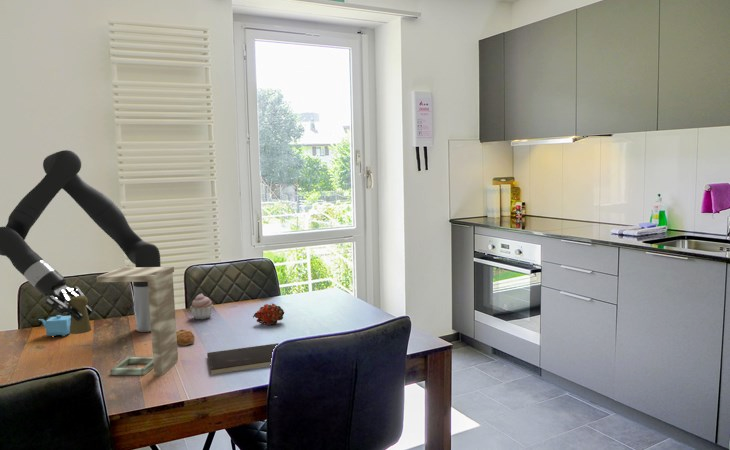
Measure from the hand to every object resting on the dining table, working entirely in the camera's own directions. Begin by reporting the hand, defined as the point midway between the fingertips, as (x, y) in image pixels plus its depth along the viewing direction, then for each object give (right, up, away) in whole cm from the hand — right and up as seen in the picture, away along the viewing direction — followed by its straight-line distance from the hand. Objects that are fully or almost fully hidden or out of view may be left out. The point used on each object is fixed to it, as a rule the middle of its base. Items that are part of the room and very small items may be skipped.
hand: (85, 316), depth 168 cm
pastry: (+23, -13, +24) cm, 36 cm away
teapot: (-28, -13, +35) cm, 47 cm away
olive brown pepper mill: (-2, -5, +1) cm, 5 cm away
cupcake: (+20, -10, +54) cm, 58 cm away
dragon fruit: (+49, -10, +43) cm, 66 cm away
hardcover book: (+49, -15, +3) cm, 51 cm away
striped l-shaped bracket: (+18, -16, -1) cm, 24 cm away
